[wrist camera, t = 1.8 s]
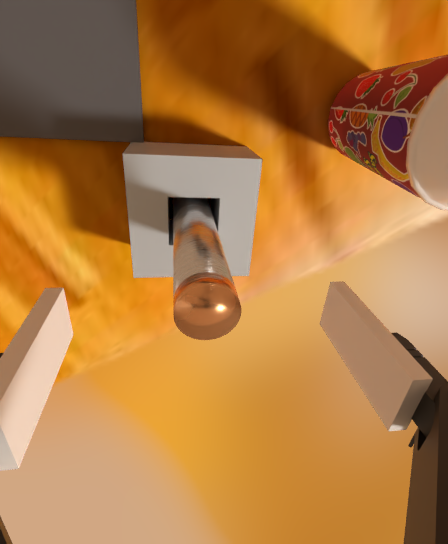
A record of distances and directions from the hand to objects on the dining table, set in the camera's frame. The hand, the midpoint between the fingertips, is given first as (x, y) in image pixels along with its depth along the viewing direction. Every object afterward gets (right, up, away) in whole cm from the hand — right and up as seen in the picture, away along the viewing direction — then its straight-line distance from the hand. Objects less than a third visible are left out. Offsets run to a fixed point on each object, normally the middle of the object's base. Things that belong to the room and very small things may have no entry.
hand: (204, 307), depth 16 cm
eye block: (-2, +9, +14) cm, 17 cm away
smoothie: (+13, +16, +13) cm, 24 cm away
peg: (-2, +9, +14) cm, 17 cm away
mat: (-11, +18, +8) cm, 23 cm away
